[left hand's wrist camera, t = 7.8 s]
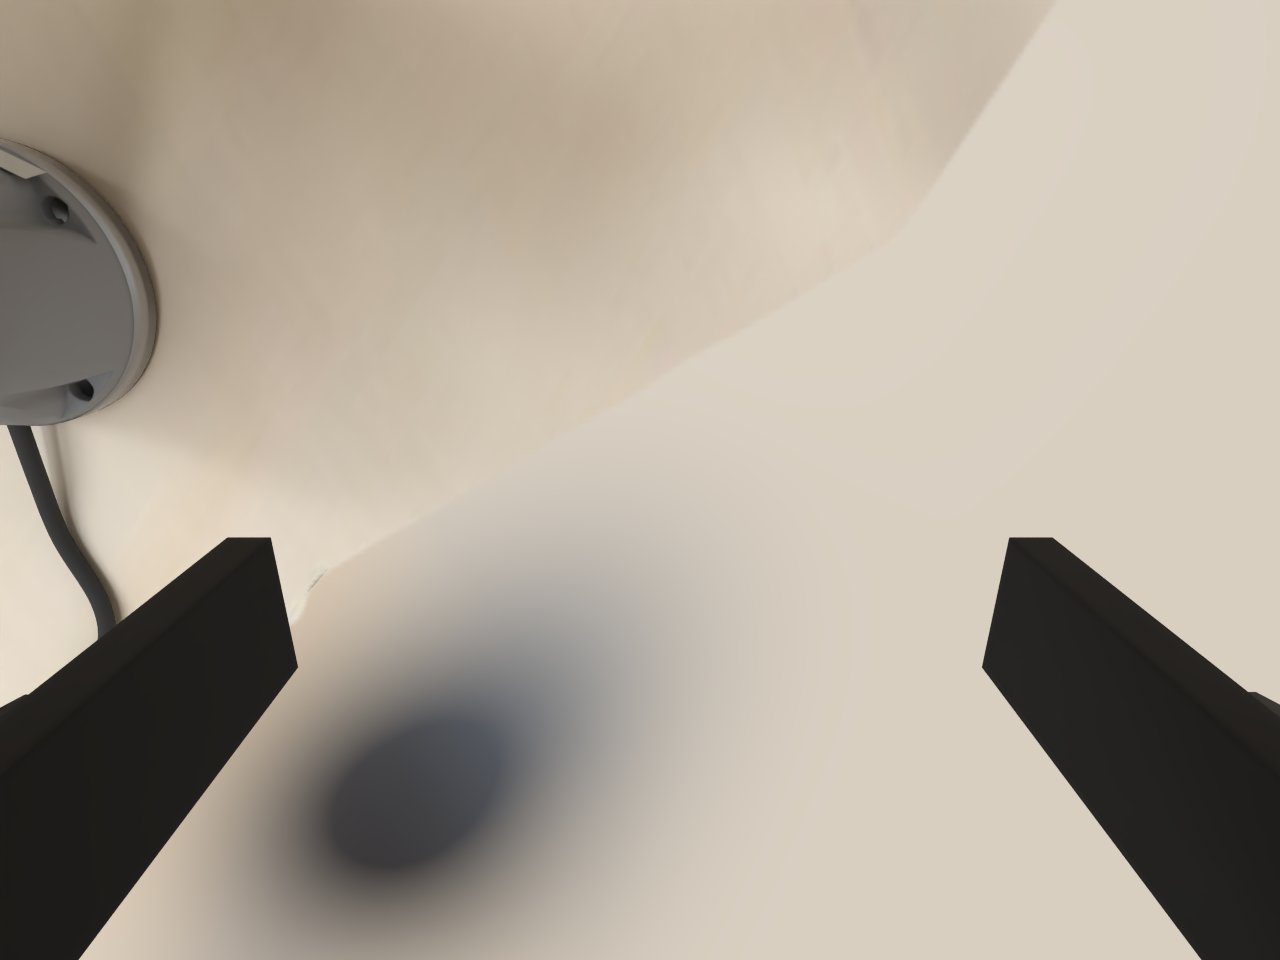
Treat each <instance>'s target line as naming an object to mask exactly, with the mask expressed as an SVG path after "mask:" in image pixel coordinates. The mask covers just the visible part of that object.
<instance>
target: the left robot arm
mask: <svg viewBox="0 0 1280 960" xmlns="http://www.w3.org/2000/svg"><path fill="white" fill-rule="evenodd" d="M155 334H156V304H155V297H154V291H153V287H152V283H151V279H150V276H149V273H148V270H147V267H146V265H145V262H144V260H143V258H142V255H141V253H140V251H139V249H138V247H137V245H136V243H135V242H134V240H133V238H132V236H131V235H130V233H129V232H128V230H127V228H126V227H125V225H124V224H123V222H122V221H121V220H120V218H119V217H118V216H117V215H116V213H115V212H114V211H113V209H112V208H111V207H110V206H109V205H108V204H107V203H106V201H105V200H104V199H103V198H102V197H101V196H100V195H99V194H98V193H97V192H96V191H95V190H94V189H93V188H92V187H91V186H89V185H88V184H87V183H86V182H85V181H83V180H82V179H81V178H80V177H79V176H77V175H76V174H75V173H73V172H72V171H70V170H69V169H68V168H66V167H65V166H63V165H62V164H60V163H58V162H57V161H55V160H53V159H52V158H50V157H48V156H46V155H44V154H42V153H40V152H38V151H36V150H34V149H31V148H29V147H26V146H24V145H21V144H18V143H15V142H11V141H8V140H4V139H0V425H7V427H8V429H9V432H10V435H11V438H12V440H13V443H14V446H15V449H16V451H17V454H18V457H19V460H20V462H21V465H22V468H23V470H24V473H25V476H26V478H27V481H28V484H29V486H30V489H31V492H32V494H33V497H34V500H35V502H36V505H37V508H38V510H39V513H40V515H41V518H42V520H43V523H44V525H45V527H46V529H47V532H48V534H49V536H50V538H51V540H52V542H53V544H54V546H55V547H56V549H57V551H58V552H59V554H60V556H61V557H62V559H63V560H64V562H65V563H66V565H67V566H68V568H69V569H70V571H71V572H72V574H73V575H74V577H75V578H76V580H77V581H78V583H79V584H80V586H81V587H82V589H83V590H84V592H85V594H86V596H87V597H88V599H89V601H90V603H91V606H92V608H93V611H94V614H95V617H96V621H97V626H98V640H97V641H96V642H95V643H93V644H92V645H91V646H90V647H88V648H87V649H86V650H85V651H83V652H82V653H81V654H79V655H78V656H77V657H76V658H74V659H73V660H72V661H71V662H69V663H68V664H67V665H66V666H64V667H63V668H62V669H60V670H59V671H58V672H57V673H55V674H54V675H53V676H52V677H50V678H49V679H48V680H47V681H45V682H44V683H43V684H41V685H40V686H39V687H38V688H36V689H35V690H34V691H33V692H31V693H30V694H29V695H23V696H21V697H20V698H18V699H16V700H14V701H12V702H10V703H8V704H6V705H4V706H3V707H1V708H0V960H79V958H80V957H81V956H82V954H83V953H84V952H85V950H86V949H87V948H88V946H89V945H90V944H91V942H92V941H93V940H94V938H95V937H96V936H97V934H98V933H99V932H100V930H101V929H102V928H103V926H104V925H105V924H106V922H107V921H108V920H109V918H110V917H111V916H112V914H113V913H114V912H115V910H116V909H117V908H118V906H119V905H120V904H121V902H122V901H123V900H124V898H125V897H126V896H127V895H128V893H129V892H130V890H131V889H132V888H133V887H134V885H135V884H136V883H137V881H138V880H139V879H140V877H141V876H142V875H143V873H144V872H145V871H146V869H147V868H148V866H149V865H150V864H151V863H152V861H153V860H154V858H155V857H156V856H157V855H158V853H159V852H160V851H161V849H162V848H163V846H164V845H165V844H166V843H167V841H168V840H169V839H170V837H171V836H172V835H173V833H174V832H175V831H176V829H177V828H178V827H179V825H180V824H181V823H182V821H183V820H184V819H185V817H186V816H187V814H188V813H189V812H190V811H191V809H192V808H193V807H194V805H195V804H196V803H197V801H198V800H199V799H200V797H201V796H202V795H203V793H204V792H205V791H206V789H207V788H208V787H209V785H210V784H211V783H212V781H213V780H214V779H215V777H216V776H217V774H218V773H219V772H220V771H221V769H222V768H223V767H224V765H225V764H226V763H227V761H228V760H229V759H230V757H231V756H232V755H233V753H234V752H235V751H236V749H237V748H238V747H239V745H240V744H241V743H242V741H243V740H244V739H245V737H246V736H247V735H248V733H249V732H250V731H251V729H252V728H253V727H254V725H255V724H256V723H257V721H258V720H259V719H260V717H261V716H262V715H263V713H264V712H265V711H266V709H267V708H268V707H269V705H270V704H271V703H272V701H273V700H274V699H275V697H276V696H277V695H278V693H279V692H280V691H281V689H282V688H283V687H284V685H285V684H286V683H287V681H288V680H289V679H290V677H291V676H292V675H293V673H294V672H295V671H296V669H297V668H298V665H297V660H296V655H295V651H294V646H293V641H292V636H291V632H290V627H289V622H288V617H287V613H286V608H285V603H284V599H283V594H282V589H281V584H280V580H279V575H278V570H277V565H276V561H275V556H274V551H273V546H272V542H271V538H226V539H225V540H224V541H223V542H221V543H220V544H219V545H217V546H216V547H215V548H214V549H212V550H211V551H210V552H209V553H207V554H206V555H205V556H204V557H202V558H201V559H200V560H198V561H197V562H196V563H195V564H193V565H192V566H191V567H190V568H188V569H187V570H186V571H185V572H183V573H182V574H181V575H179V576H178V577H177V578H176V579H174V580H173V581H172V582H171V583H169V584H168V585H167V586H166V587H164V588H163V589H162V590H160V591H159V592H158V593H157V594H155V595H154V596H153V597H152V598H150V599H149V600H148V601H147V602H145V603H144V604H143V605H141V606H140V607H139V608H138V609H136V610H135V611H134V612H133V613H131V614H130V615H129V616H128V617H126V618H125V619H124V620H122V621H121V622H120V623H119V624H117V625H116V622H115V617H114V612H113V609H112V605H111V603H110V600H109V598H108V596H107V593H106V591H105V589H104V588H103V586H102V584H101V582H100V581H99V579H98V578H97V576H96V574H95V573H94V571H93V570H92V568H91V567H90V565H89V564H88V562H87V561H86V559H85V558H84V556H83V555H82V553H81V552H80V550H79V548H78V547H77V545H76V544H75V542H74V540H73V538H72V536H71V534H70V532H69V530H68V528H67V526H66V524H65V521H64V519H63V517H62V514H61V512H60V509H59V506H58V504H57V501H56V498H55V495H54V492H53V489H52V487H51V484H50V481H49V478H48V475H47V473H46V470H45V467H44V464H43V461H42V459H41V456H40V453H39V450H38V447H37V444H36V441H35V438H34V435H33V433H32V430H31V427H30V426H42V425H52V424H57V423H62V422H66V421H69V420H72V419H75V418H78V417H81V416H84V415H86V414H89V413H92V412H94V411H97V410H100V409H102V408H104V407H106V406H108V405H110V404H112V403H113V402H115V401H116V400H118V399H119V398H121V397H122V396H123V395H124V394H126V393H127V392H128V391H129V390H130V389H131V388H132V387H133V386H134V384H135V383H136V382H137V380H138V379H139V378H140V376H141V375H142V373H143V371H144V369H145V368H146V366H147V363H148V361H149V359H150V356H151V353H152V349H153V346H154V341H155ZM316 583H317V581H316ZM316 583H315V584H316ZM315 584H314V585H315ZM314 585H313V586H314ZM313 586H312V587H313ZM982 668H983V669H984V671H985V672H986V673H987V675H988V676H989V677H990V679H991V680H992V681H993V683H994V684H995V685H996V687H997V688H998V689H999V691H1000V692H1001V693H1002V695H1003V696H1004V697H1005V699H1006V700H1007V701H1008V703H1009V704H1010V705H1011V707H1012V708H1013V709H1014V711H1015V712H1016V713H1017V715H1018V716H1019V717H1020V719H1021V720H1022V721H1023V723H1024V724H1025V725H1026V727H1027V728H1028V729H1029V731H1030V732H1031V733H1032V735H1033V736H1034V737H1035V739H1036V740H1037V741H1038V743H1039V744H1040V745H1041V747H1042V748H1043V749H1044V751H1045V752H1046V753H1047V755H1048V756H1049V757H1050V759H1051V760H1052V761H1053V763H1054V764H1055V765H1056V767H1057V768H1058V769H1059V771H1060V772H1061V773H1062V775H1063V776H1064V777H1065V779H1066V780H1067V781H1068V783H1069V784H1070V785H1071V786H1072V788H1073V789H1074V791H1075V792H1076V793H1077V795H1078V796H1079V797H1080V799H1081V800H1082V801H1083V803H1084V804H1085V805H1086V807H1087V808H1088V809H1089V811H1090V812H1091V813H1092V815H1093V816H1094V817H1095V819H1096V820H1097V821H1098V823H1099V824H1100V825H1101V826H1102V828H1103V829H1104V831H1105V832H1106V833H1107V835H1108V836H1109V837H1110V839H1111V840H1112V841H1113V843H1114V844H1115V845H1116V846H1117V848H1118V849H1119V850H1120V852H1121V853H1122V855H1123V856H1124V857H1125V859H1126V860H1127V861H1128V862H1129V864H1130V865H1131V867H1132V868H1133V869H1134V871H1135V872H1136V873H1137V875H1138V876H1139V877H1140V879H1141V880H1142V881H1143V882H1144V884H1145V885H1146V887H1147V888H1148V889H1149V890H1150V892H1151V893H1152V894H1153V896H1154V897H1155V898H1156V900H1157V901H1158V902H1159V904H1160V905H1161V906H1162V908H1163V909H1164V910H1165V912H1166V913H1167V914H1168V916H1169V917H1170V918H1171V920H1172V921H1173V922H1174V924H1175V925H1176V926H1177V928H1178V929H1179V930H1180V932H1181V933H1182V934H1183V936H1184V937H1185V938H1186V940H1187V941H1188V942H1189V944H1190V945H1191V946H1192V948H1193V949H1194V950H1195V952H1196V953H1197V954H1198V956H1199V957H1200V958H1201V960H1280V705H1279V704H1278V703H1276V702H1274V701H1272V700H1270V699H1268V698H1266V697H1264V696H1262V695H1260V694H1258V693H1257V692H1247V691H1246V690H1245V689H1243V688H1242V687H1241V686H1240V685H1239V684H1237V683H1236V682H1235V681H1233V680H1232V679H1231V678H1230V677H1228V676H1227V675H1226V674H1225V673H1223V672H1222V671H1221V670H1220V669H1218V668H1217V667H1216V666H1214V665H1213V664H1212V663H1211V662H1209V661H1208V660H1207V659H1206V658H1204V657H1203V656H1202V655H1201V654H1199V653H1198V652H1197V651H1195V650H1194V649H1193V648H1192V647H1190V646H1189V645H1188V644H1187V643H1185V642H1184V641H1183V640H1182V639H1180V638H1179V637H1178V636H1176V635H1175V634H1174V633H1173V632H1171V631H1170V630H1169V629H1168V628H1166V627H1165V626H1164V625H1163V624H1161V623H1160V622H1159V621H1158V620H1156V619H1155V618H1154V617H1152V616H1151V615H1150V614H1149V613H1147V612H1146V611H1145V610H1144V609H1142V608H1141V607H1140V606H1139V605H1137V604H1136V603H1135V602H1133V601H1132V600H1131V599H1130V598H1128V597H1127V596H1126V595H1125V594H1123V593H1122V592H1121V591H1120V590H1118V589H1117V588H1116V587H1114V586H1113V585H1112V584H1111V583H1109V582H1108V581H1107V580H1106V579H1104V578H1103V577H1102V576H1100V575H1099V574H1098V573H1097V572H1095V571H1094V570H1093V569H1092V568H1090V567H1089V566H1088V565H1087V564H1085V563H1084V562H1083V561H1081V560H1080V559H1079V558H1078V557H1076V556H1075V555H1074V554H1073V553H1071V552H1070V551H1069V550H1068V549H1066V548H1065V547H1064V546H1063V545H1061V544H1060V543H1059V542H1057V541H1056V540H1055V539H1054V538H1009V542H1008V546H1007V551H1006V556H1005V561H1004V565H1003V570H1002V575H1001V580H1000V584H999V589H998V594H997V599H996V603H995V608H994V613H993V617H992V622H991V627H990V632H989V637H988V641H987V646H986V651H985V656H984V660H983V665H982Z"/></svg>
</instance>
